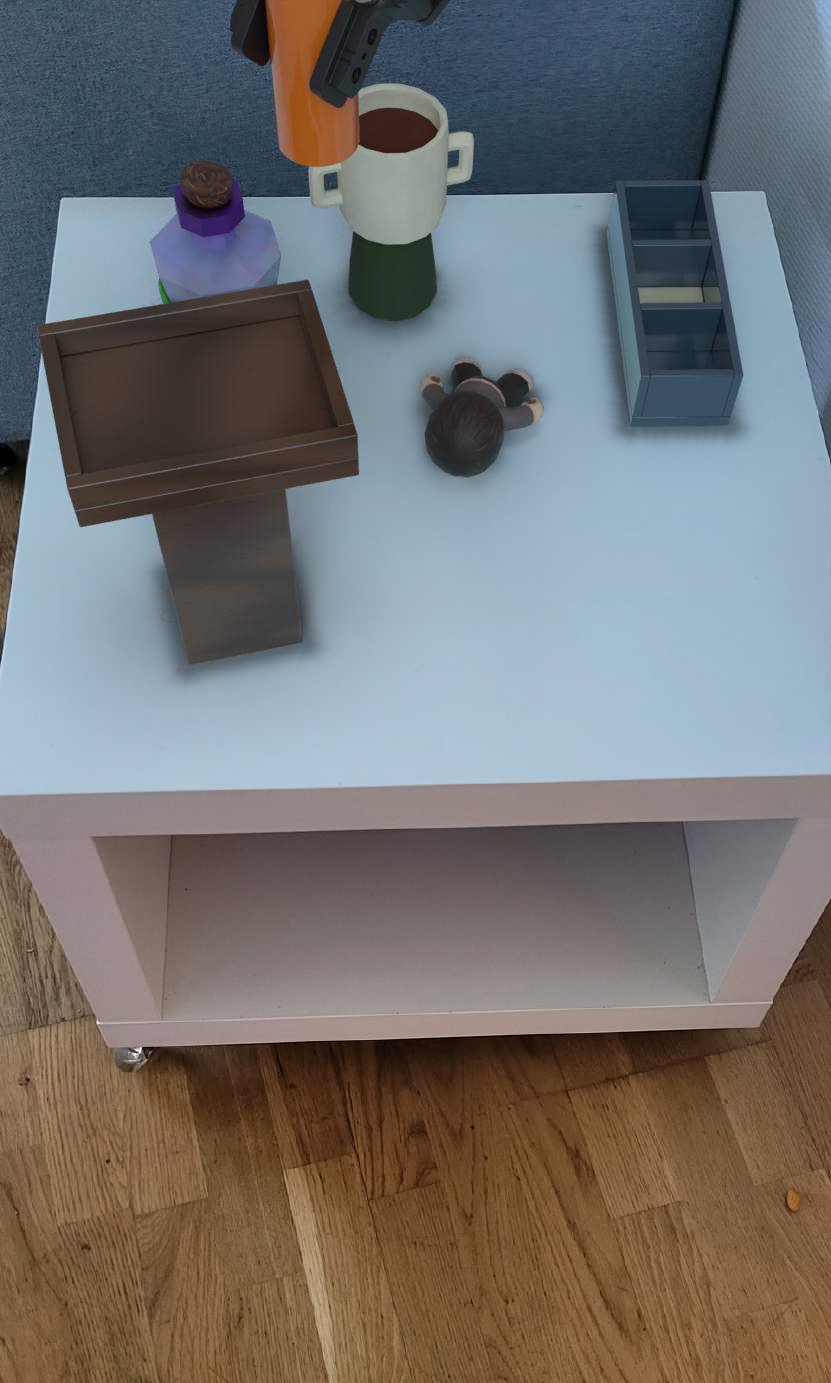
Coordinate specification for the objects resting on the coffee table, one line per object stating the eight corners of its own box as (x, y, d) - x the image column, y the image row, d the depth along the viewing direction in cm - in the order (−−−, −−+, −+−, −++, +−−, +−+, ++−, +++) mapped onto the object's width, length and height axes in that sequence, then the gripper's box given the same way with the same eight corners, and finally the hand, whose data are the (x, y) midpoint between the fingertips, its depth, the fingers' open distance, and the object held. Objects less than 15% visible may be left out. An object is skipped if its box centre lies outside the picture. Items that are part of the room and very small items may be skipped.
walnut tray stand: (326, 519, 84) (308, 278, 67) (366, 657, 79) (358, 435, 63) (108, 561, 82) (36, 324, 66) (137, 704, 78) (67, 489, 61)
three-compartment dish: (696, 234, 95) (709, 179, 91) (728, 426, 87) (743, 375, 84) (606, 234, 95) (615, 180, 91) (630, 426, 87) (641, 376, 83)
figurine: (430, 393, 90) (387, 476, 84) (436, 324, 86) (392, 407, 80) (547, 420, 89) (513, 506, 83) (559, 353, 85) (523, 438, 79)
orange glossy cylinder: (356, 111, 64) (351, -67, 57) (362, 166, 62) (358, -11, 55) (275, 115, 64) (259, -64, 57) (278, 169, 62) (263, -7, 55)
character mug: (451, 248, 94) (459, 68, 83) (481, 316, 91) (493, 140, 80) (305, 276, 93) (291, 98, 81) (330, 346, 90) (320, 172, 78)
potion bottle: (141, 326, 91) (106, 164, 80) (244, 274, 93) (224, 110, 82) (210, 400, 88) (184, 243, 77) (314, 344, 90) (303, 185, 79)
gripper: (277, -497, 50) (118, -17, 57) (577, -378, 47) (369, 118, 54) (367, -370, 57) (214, 47, 64) (636, -257, 53) (444, 171, 60)
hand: (286, 77), depth 59 cm, fingers closed on orange glossy cylinder, 4 cm apart
